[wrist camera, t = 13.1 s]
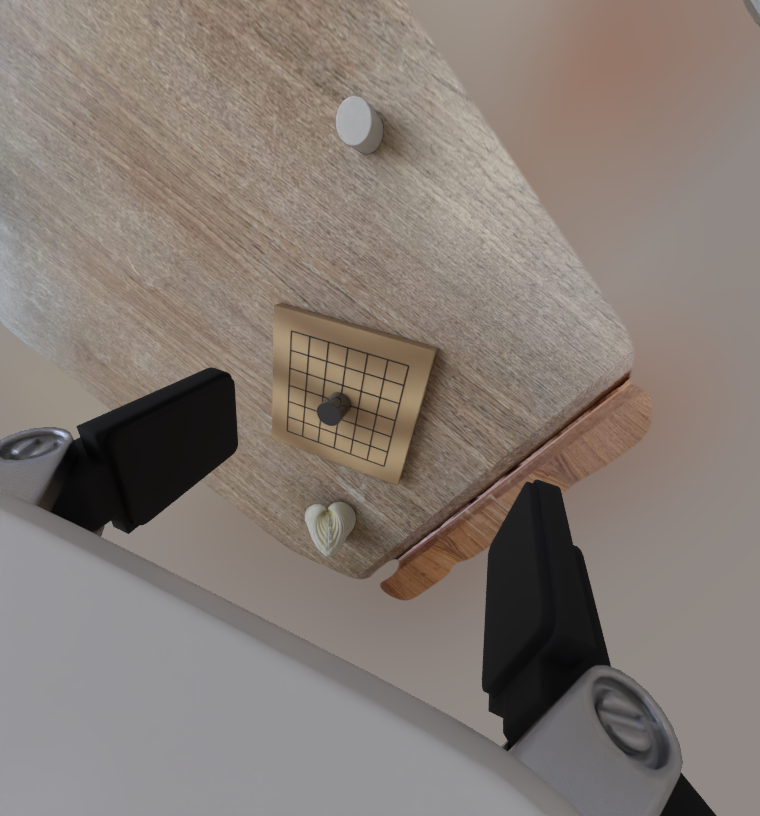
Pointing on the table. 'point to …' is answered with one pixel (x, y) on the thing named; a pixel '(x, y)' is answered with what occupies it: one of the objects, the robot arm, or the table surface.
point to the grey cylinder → (359, 125)
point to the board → (347, 390)
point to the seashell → (330, 525)
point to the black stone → (334, 408)
